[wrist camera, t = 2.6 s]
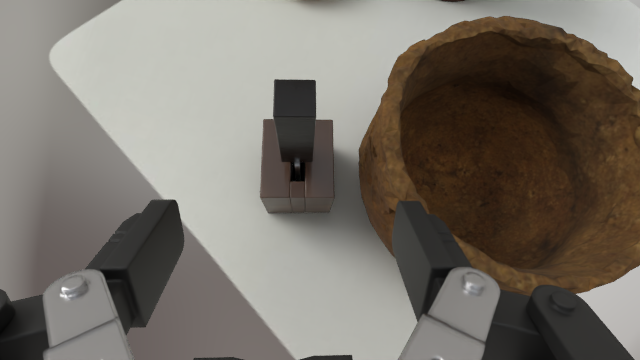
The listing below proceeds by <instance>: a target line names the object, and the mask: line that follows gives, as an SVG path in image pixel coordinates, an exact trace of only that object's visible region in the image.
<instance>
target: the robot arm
mask: <svg viewBox="0 0 640 360" xmlns="http://www.w3.org/2000/svg"><path fill="white" fill-rule="evenodd" d="M183 246H184V233H183V228H182V223H181V218H180V213H179V208H178V204H177V202H176V200H151V201H150V203H149V204H148V206H147V207H146V208H145V209H144V211H143V212H142V213H137V214H135V215H133V216H132V217H130V218H129V219H127V220H126V221H124V222H123V223H122V224H121V225H120V227H119V228H118V229H117V230H116V231H115V234H113V235H112V236H111V238H110V239H109V242H107V243H106V244H105V245H104V246H103V247H102V249H101V250H100V251H99V252H98V254H97V255H96V256H95V257H94V259H93V260H92V261H91V262H90V263H89V265H88V266H87V267H86V268H85V270H80V271H75V272H72V273H70V274H67V275H65V276H63V277H61V278H59V279H58V280H56V281H55V282H53V283H52V284H51V285H50V286H49V287H48V288H47V289H46V291H45V292H44V294H43V295H39V296H34V297H30V298H25V299H21V300H16V301H12V302H11V301H10V299H9V298H8V296H7V294H6V292H5V291H3V290H1V289H0V360H135V359H134V357H133V354H132V351H131V348H130V346H129V343H128V340H127V337H126V335H127V333H128V331H129V329H130V328H131V327H146V325H147V323H148V321H149V319H150V317H151V315H152V313H153V311H154V309H155V306H156V304H157V303H158V300H159V298H160V296H161V294H162V292H163V290H164V288H165V286H166V284H167V282H168V280H169V278H170V276H171V274H172V272H173V270H174V267H175V265H176V263H177V261H178V259H179V257H180V255H181V253H182V251H183ZM392 248H393V252H394V255H395V258H396V261H397V264H398V267H399V270H400V272H401V275H402V278H403V281H404V284H405V287H406V290H407V293H408V296H409V298H410V301H411V304H412V307H413V310H414V313H415V316H416V319H417V322H418V323H417V325H416V327H415V329H414V331H413V333H412V335H411V336H410V338H409V340H408V342H407V344H406V346H405V347H404V349H403V351H402V353H401V355H400V357H399V359H398V360H634V359H633V357H632V356H631V355H630V354H629V353H628V351H627V350H626V349H625V348H624V347H623V345H622V344H621V343H620V342H619V341H618V340H617V338H616V337H615V336H614V335H613V334H612V333H611V331H610V330H609V329H608V328H607V327H606V325H605V324H604V323H603V322H602V321H601V320H600V319H599V317H598V316H597V315H596V314H595V312H594V311H593V310H592V309H591V308H590V307H589V305H588V304H587V303H586V302H585V301H584V300H583V299H581V298H580V297H579V296H577V295H576V294H574V293H572V292H571V291H569V290H566V289H564V288H561V287H558V286H554V285H539V286H537V287H535V288H534V290H533V291H532V294H531V296H527V295H523V294H518V293H514V292H509V291H505V290H502V289H500V288H499V285H498V284H497V282H496V281H495V280H494V279H493V278H492V277H491V276H489V275H488V274H486V273H485V272H483V271H481V270H478V269H475V268H473V267H472V265H471V264H470V262H469V260H468V259H467V257H466V256H465V254H464V252H463V251H462V249H461V248H460V246H459V244H458V243H457V242H456V239H455V238H454V236H453V235H452V234H451V231H450V230H449V228H448V227H447V225H446V223H445V222H444V221H442V220H441V219H440V218H439V217H437V216H436V215H435V214H427V212H426V211H425V209H424V207H423V205H422V204H421V202H420V201H398V203H397V207H396V213H395V219H394V226H393V232H392ZM194 360H243V359H238V358H234V357H224V358H194ZM300 360H352V355H332V356H311V357H308V358H304V359H300Z"/></svg>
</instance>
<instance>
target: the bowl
mask: <svg viewBox="0 0 640 360" xmlns="http://www.w3.org/2000/svg"><path fill="white" fill-rule="evenodd" d="M632 81H633V77H632V76H630V75H629V74H628V73H627V72H626V71H625V70H624V68H623V67H622V66H621V65H620V63H619V62H618V61H617V60H614V59H611V58H608V56H607V53H604V52H602V51H600V50H598V49H597V48H596V47H595V46H594V45H593V44H592V43H590V42H588V41H586V40H584V39H581V38H578V37H576V36H575V35H574V34H567V33H566V32H565V31H564V30H563V29H562V28H559V27H555V26H551V25H547V24H542V23H540V22H538V21H534V20H529V19H523V18H514V17H511V16H503V17H499V18H494V17H485V18H480V19H477V20H473V21H470V22H469V21H463V22H460V23H457V24H454V25H452V26H450V27H449V28H448V29H446V30H445V31H444V32H441V33H438V34H436V35H434V36H433V37H431V38H430V39H428V40H426V41H425V40H422V41H419V42H418V43H416V44H414V45H412V46H410V47H409V48H408V50H407V51H406V52H404V53H403V54H401V55H400V56H399V57H398V58H397V60H396V62H395V64H394V66H393V68H392V71H391V73H390V76H389V78H388V88H387V90H386V92H385V93H384V94H383V96H382V98H381V104H380V106H379V108H378V110H377V112H376V115H375V116H374V118H373V120H372V121H371V123H370V125H369V127H368V130H367V132H366V134H365V136H364V138H363V140H362V143H361V146H360V148H359V179H360V189H361V195H362V199H363V202H364V205H365V208H366V211H367V214H368V217H369V220H370V222H371V224H372V226H373V227H374V229H375V231H376V232H377V234H378V236H379V237H380V239H381V240H382V242H383V243H384V244H385V246H386V247H387V249H388V250H389V252H390V253H391V254H392V255H393V256H394V257H395V255H394V252H393V248H392V232H393V226H394V219H395V213H396V207H397V203H398V201H420V202H421V204H422V205H423V207H424V209H425V211H426V212H427V214H435V215H436V216H437V217H439V218H440V219H441V220H442V221H444V222H445V223H446V225H447V227H448V228H449V230H450V231H451V234H452V235H453V236H454V238H455V239H456V242H457V243H458V244H459V246H460V248H461V249H462V251H463V252H464V254H465V256H466V257H467V259H468V260H469V262H470V264H471V265H472V267H473V268H475V269H478V270H481V271H483V272H485V273H486V274H488V275H489V276H491V277H492V278H493V279H494V280H495V281H496V282H497V284H498V285H499V288H500V289H502V290H505V291H509V292H514V293H518V294H523V295H527V296H531V294H532V291H533V290H534V288H535V287H537V286H539V285H554V286H558V287H561V288H564V289H566V290H569V291H571V292H572V293H574V294H577V293H582V292H587V291H590V290H591V289H593V288H596V287H599V286H602V285H605V284H608V283H611V282H614V281H615V280H617V279H619V278H620V277H622V276H624V275H625V274H626V273H628V272H629V271H630V270H632V269H634V268H636V267H638V266H639V265H640V90H639V89H637V88H635V87H634V86H632V85H631V84H632Z"/></svg>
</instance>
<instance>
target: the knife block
mask: <svg viewBox="0 0 640 360" xmlns="http://www.w3.org/2000/svg"><path fill="white" fill-rule="evenodd" d="M334 197H335V195H334V154H333V120H316V124H315V138H314V152H313V162H305V182H304V181H293V162H282V161H281V155H280V150H279V145H278V139H277V134H276V128H275V123H274V119H264V120H263V141H262V165H261V190H260V198H261V200H262V202H263V204H264V206H265V208H266V210H267V212H268V213H292V212H293V213H304V212H306V213H329V212H330V209H331V206H332V203H333V200H334Z"/></svg>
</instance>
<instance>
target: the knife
mask: <svg viewBox="0 0 640 360" xmlns="http://www.w3.org/2000/svg"><path fill="white" fill-rule="evenodd" d="M273 117H274V123H275V128H276V134H277V139H278V145H279V150H280V155H281V161H282V162H295V176H296V181H301V162H313V152H314V138H315V124H316V81H315V80H274V107H273Z"/></svg>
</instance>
